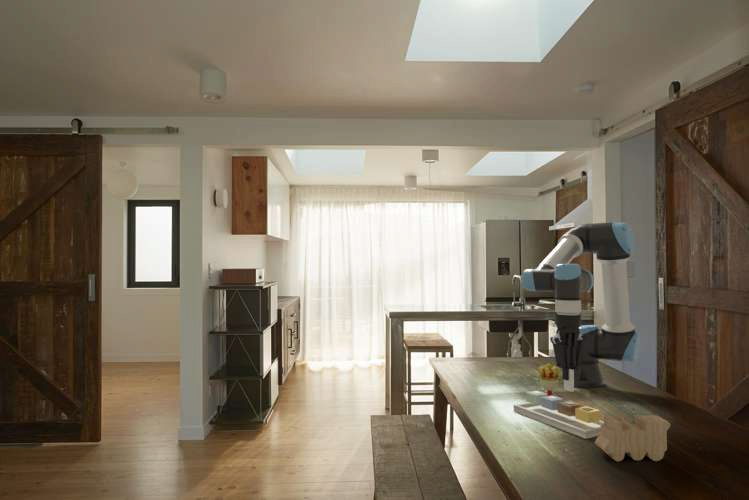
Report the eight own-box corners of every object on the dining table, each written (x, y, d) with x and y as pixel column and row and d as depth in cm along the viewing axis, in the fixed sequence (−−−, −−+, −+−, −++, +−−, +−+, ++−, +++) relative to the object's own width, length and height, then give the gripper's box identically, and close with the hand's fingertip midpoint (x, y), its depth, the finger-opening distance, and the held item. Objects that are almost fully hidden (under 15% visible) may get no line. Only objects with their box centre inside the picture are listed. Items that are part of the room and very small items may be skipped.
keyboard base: (540, 406, 180) (540, 400, 180) (614, 432, 154) (614, 425, 154) (513, 410, 175) (513, 404, 175) (585, 438, 148) (585, 431, 148)
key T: (569, 410, 164) (568, 399, 164) (581, 414, 160) (581, 403, 160) (557, 412, 162) (557, 401, 162) (569, 416, 158) (569, 405, 158)
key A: (587, 416, 158) (586, 405, 158) (600, 420, 154) (599, 409, 154) (575, 418, 156) (575, 407, 156) (588, 423, 152) (588, 412, 152)
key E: (537, 399, 177) (537, 389, 177) (547, 402, 173) (547, 393, 173) (526, 401, 175) (526, 391, 175) (536, 404, 171) (536, 394, 171)
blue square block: (552, 404, 171) (552, 394, 171) (563, 408, 166) (563, 398, 166) (541, 406, 169) (541, 396, 169) (552, 410, 164) (552, 400, 164)
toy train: (595, 453, 137) (594, 415, 138) (658, 452, 138) (658, 414, 138) (604, 462, 132) (604, 422, 132) (671, 460, 132) (670, 421, 132)
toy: (561, 405, 181) (561, 361, 182) (540, 404, 183) (539, 361, 183) (558, 399, 188) (558, 357, 189) (537, 398, 190) (537, 357, 190)
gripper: (573, 311, 168) (574, 385, 167) (543, 313, 162) (543, 390, 162) (593, 313, 161) (593, 390, 161) (561, 315, 155) (562, 395, 155)
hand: (568, 390), depth 161 cm, fingers closed
